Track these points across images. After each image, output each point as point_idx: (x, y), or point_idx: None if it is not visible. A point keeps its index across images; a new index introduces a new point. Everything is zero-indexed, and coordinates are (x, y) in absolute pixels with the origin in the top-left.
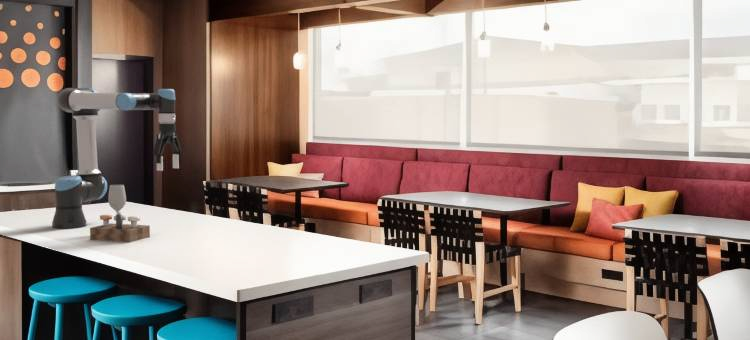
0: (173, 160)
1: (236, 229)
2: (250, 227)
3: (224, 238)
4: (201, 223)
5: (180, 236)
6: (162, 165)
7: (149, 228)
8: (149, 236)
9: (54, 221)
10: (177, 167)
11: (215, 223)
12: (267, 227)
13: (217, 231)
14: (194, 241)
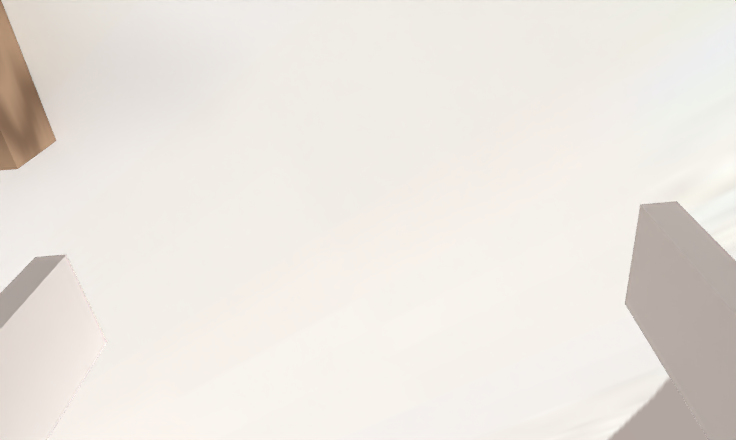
0: (729, 338)
1: (479, 364)
2: (559, 384)
3: (238, 429)
4: (656, 90)
5: (172, 264)
6: (46, 418)
7: (26, 161)
8: (51, 142)
9: None
10: (634, 307)
11: (670, 171)
12: (578, 435)
13: (389, 326)
14: (110, 379)
